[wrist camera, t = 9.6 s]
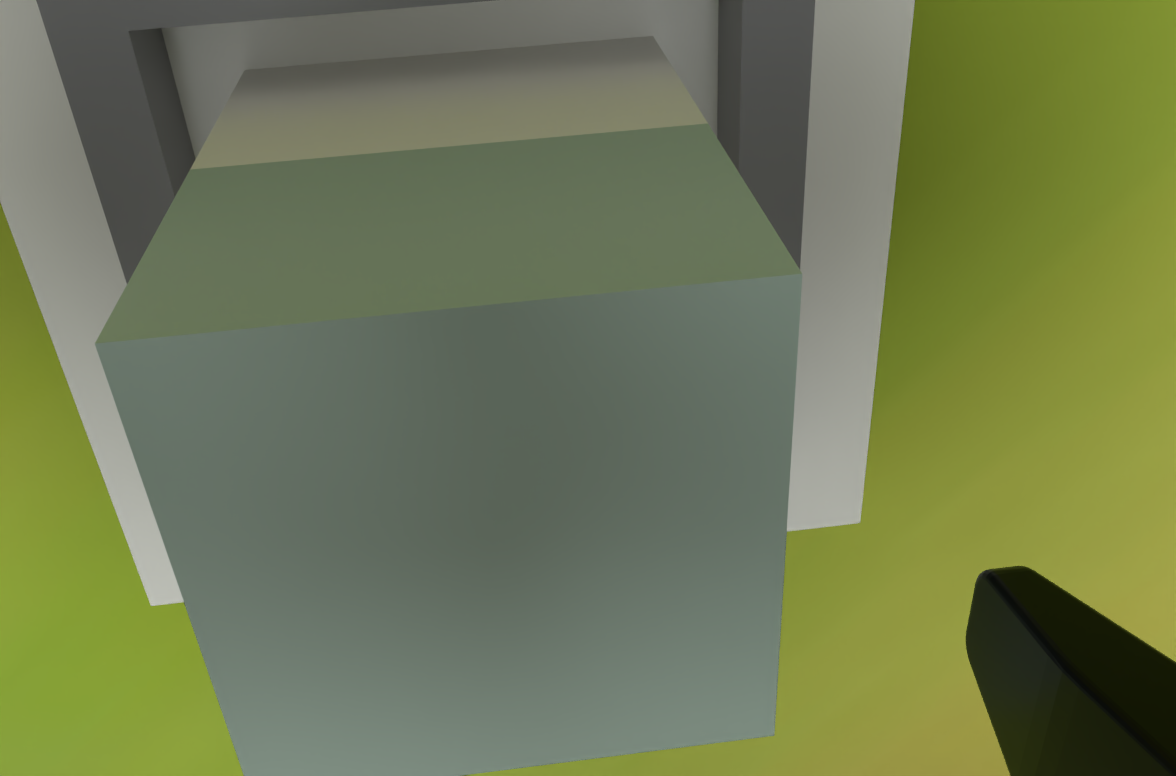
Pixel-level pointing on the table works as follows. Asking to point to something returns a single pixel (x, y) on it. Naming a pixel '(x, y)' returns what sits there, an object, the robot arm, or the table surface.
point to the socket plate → (434, 26)
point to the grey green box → (468, 413)
